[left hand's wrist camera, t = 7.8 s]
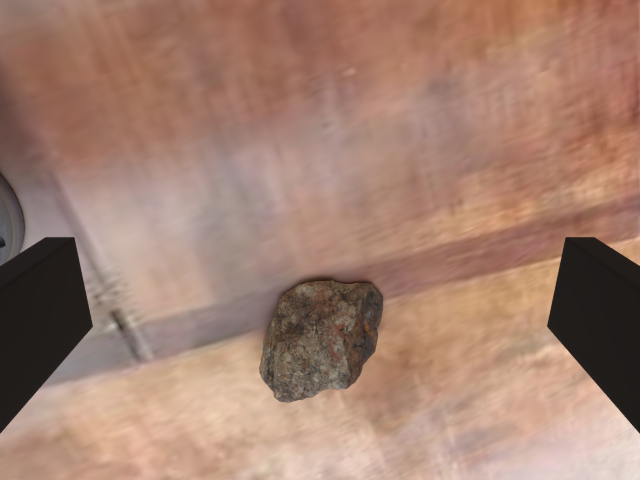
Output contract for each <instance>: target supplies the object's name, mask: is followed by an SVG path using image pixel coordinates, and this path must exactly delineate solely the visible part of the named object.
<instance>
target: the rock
mask: <svg viewBox="0 0 640 480" xmlns="http://www.w3.org/2000/svg"><path fill="white" fill-rule="evenodd" d="M382 310H383V297H382V295H381V294H380V292H379V291H378V290H377V289H376V288H375V287H374V286H373V285H372V284H370V283H353V284H343V283H339V282H335V281H334V280H332V281H315V282H311V283H309V282H307V283H305V284H299V285H298V286H296V287H294V289H291V290H289V291H287V292H286V293H285V294H284V295H283V296H282V297H281V298H280V299H279V302H278V305H277V307H276V311H275V316H274V318H273V319H272V321H271V324H270V326H269V328H268V331H267V334H266V336H265V338H264V340H263V344H264V346H263V355H262V358H261V364H260V367H259V371H260V374H261V377H262V379H263V381H264V382H265V383H266V384H267V385H268V386H269V388H270V389H271V390H272V391H273V392H274V397H275V398H276V399H277V400H279V401H280V402H292V401H296V400H303V399H305V398H310V397H314V396H315V395H316V394H318V393H319V392H321V391H322V390H325V389H347V388H348V387H349V386H350V385H352V384H353V383H355V382H356V380H357V379H358V377H359V376H360V374H361V371H362V367H363V365H364V363H366V361H367V360H368V359H369V357H370V356H371V355H372V354H373V353H374V352H375V349H376V344H377V339H378V333H377V328H378V326H379V324H380V322H381V315H382Z"/></svg>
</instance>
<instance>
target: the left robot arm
mask: <svg viewBox="0 0 640 480" xmlns="http://www.w3.org/2000/svg"><path fill="white" fill-rule="evenodd" d="M23 237H24V222H23V216H22V212H21V208H20V206H19V203H18V201H17V199H16V196H15V195H14V193H13V191H12V189H11V188H10V186H9V185H8V183H7V182H6V181H5V180H4V178H3V177H2V176H1V175H0V433H1V432H2V431H3V430H4V429H5V428H6V426H7V425H8V424H9V423H10V422H11V421H12V419H13V418H14V417H15V416H16V415H17V414H18V413H19V411H20V410H21V409H22V408H23V407H24V406H25V404H26V403H27V402H28V401H29V400H30V399H31V397H32V396H33V395H34V394H35V393H36V392H37V391H38V389H39V388H40V387H41V386H42V385H43V384H44V382H45V381H46V380H47V379H48V378H49V377H50V376H51V374H52V373H53V372H54V371H55V370H56V369H57V367H58V366H59V365H60V364H61V363H62V362H63V360H64V359H65V358H66V357H67V356H68V355H69V354H70V352H71V351H72V350H73V349H74V348H75V347H76V345H77V344H78V343H79V342H80V341H81V340H82V339H83V337H84V336H85V335H86V334H87V333H88V332H89V330H90V329H91V328H92V327H93V325H92V320H91V315H90V310H89V305H88V301H87V296H86V291H85V286H84V281H83V277H82V272H81V267H80V262H79V257H78V253H77V248H76V243H75V238H74V237H45V238H44V239H42V240H41V241H39V242H37V243H36V244H34V245H33V246H31V247H30V248H28V249H26V250H25V251H23V252H22V253H20V254H19V251H20V249H21V246H22V243H23ZM547 327H548V328H549V329H550V330H551V332H552V333H553V334H554V335H555V336H556V337H557V339H558V340H559V341H560V342H561V343H562V344H563V345H564V347H565V348H566V349H567V350H568V351H569V352H570V354H571V355H572V356H573V357H574V358H575V359H576V360H577V362H578V363H579V364H580V365H581V366H582V367H583V369H584V370H585V371H586V372H587V373H588V374H589V376H590V377H591V378H592V379H593V380H594V381H595V382H596V384H597V385H598V386H599V387H600V388H601V389H602V391H603V392H604V393H605V394H606V395H607V396H608V397H609V399H610V400H611V401H612V402H613V403H614V404H615V406H616V407H617V408H618V409H619V410H620V411H621V413H622V414H623V415H624V416H625V417H626V418H627V419H628V421H629V422H630V423H631V424H632V425H633V426H634V428H635V429H636V430H637V431H638V432H639V433H640V266H639V265H637V264H636V263H634V262H633V261H631V260H629V259H628V258H626V257H625V256H623V255H622V254H620V253H618V252H617V251H615V250H614V249H612V248H610V247H609V246H607V245H606V244H604V243H603V242H601V241H599V240H598V239H596V238H595V237H566V238H565V243H564V248H563V253H562V257H561V262H560V267H559V272H558V277H557V281H556V286H555V291H554V296H553V301H552V305H551V310H550V315H549V320H548V325H547Z"/></svg>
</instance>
